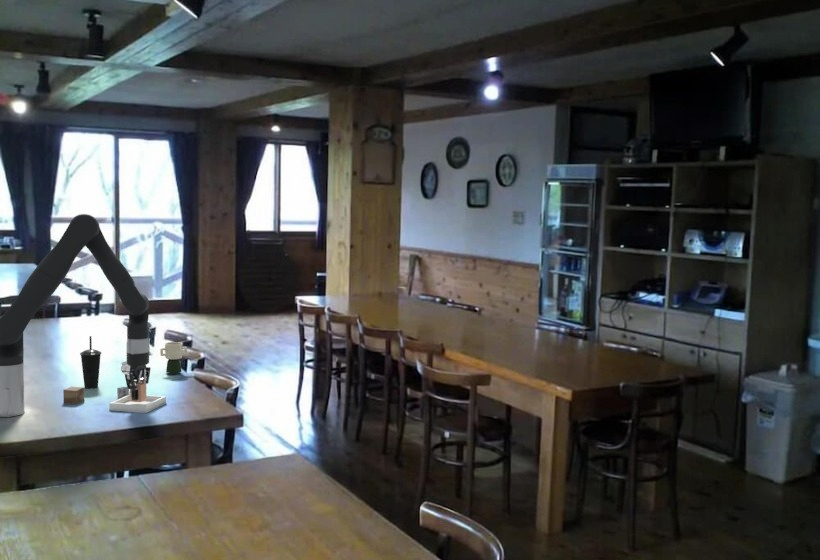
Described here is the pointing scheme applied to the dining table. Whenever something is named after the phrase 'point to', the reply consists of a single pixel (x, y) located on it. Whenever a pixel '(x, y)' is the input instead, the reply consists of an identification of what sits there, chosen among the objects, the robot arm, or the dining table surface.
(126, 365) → the wineglass
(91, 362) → the drinking cup
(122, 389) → the grey cube
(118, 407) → the tray
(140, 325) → the robot arm
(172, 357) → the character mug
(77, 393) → the walnut cube
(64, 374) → the dining table surface
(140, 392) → the terracotta block
